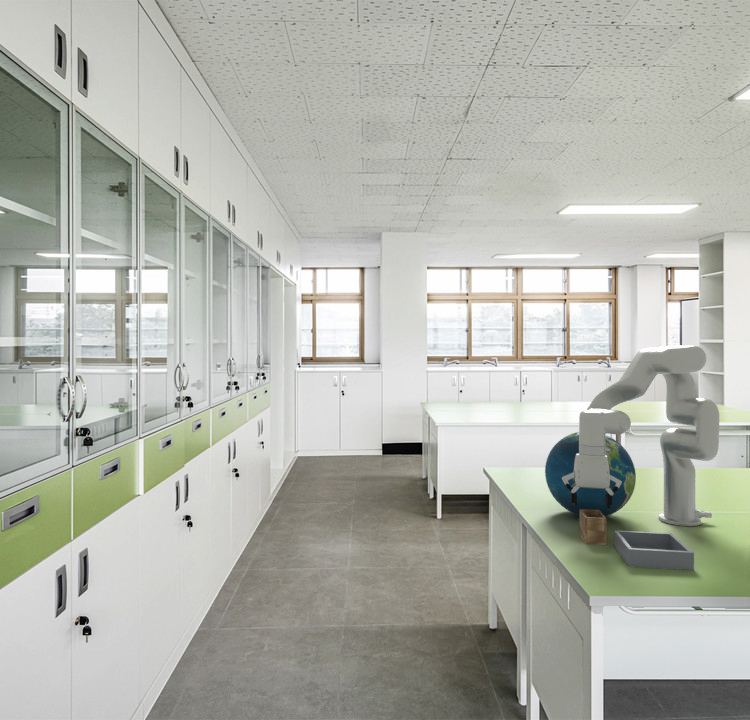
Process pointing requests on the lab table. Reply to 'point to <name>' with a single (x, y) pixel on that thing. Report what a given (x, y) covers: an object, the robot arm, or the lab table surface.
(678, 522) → the robot arm
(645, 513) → the lab table surface
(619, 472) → the globe
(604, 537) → the small crate
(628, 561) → the shallow gray tray
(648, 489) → the lab table surface
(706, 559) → the lab table surface
